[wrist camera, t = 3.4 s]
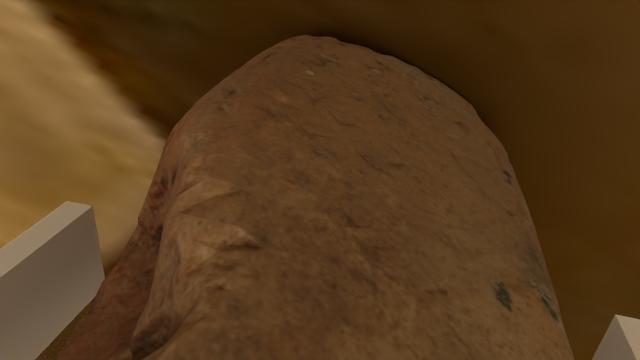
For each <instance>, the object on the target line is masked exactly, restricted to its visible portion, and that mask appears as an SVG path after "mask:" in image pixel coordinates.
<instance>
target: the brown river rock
mask: <svg viewBox="0 0 640 360" xmlns="http://www.w3.org/2000/svg"><path fill="white" fill-rule="evenodd" d="M138 224H139V225H138V226H137V228H136V230H135V232H134V233H133V235H132V237H131V239H130V240H129V242H128V244H127V246H126V248H125V250H124V252H123V254H122V256H121V258H120V260H119V261H118V263H117V264H116V266H115V267H114V268H113V269H112V270H111V272H110V273H109V274H108V275H107V277H106V278H105V279H104V280H103V282H102V283H101V286H100V288H99V290H98V292H97V294H96V296H95V299H94V301H93V303H92V306H91V308H90V311H89V313H88V314H87V315H86V316H84V317H83V318H81V319H79V320H78V322H77V324H76V325H75V327H74V329H73V331H72V332H71V334H70V336H69V337H68V339H67V341H66V343H65V344H64V346H63V348H62V350H61V352H60V353H59V355H58V356H57V358H56V360H574V357H573V353H572V349H571V346H570V343H569V341H568V338H567V335H566V332H565V330H564V326H563V322H562V318H561V314H560V310H559V306H558V302H557V298H556V294H555V291H554V288H553V285H552V282H551V280H550V277H549V274H548V271H547V268H546V264H545V260H544V257H543V253H542V250H541V247H540V244H539V240H538V237H537V234H536V230H535V227H534V224H533V221H532V218H531V215H530V213H529V210H528V207H527V204H526V201H525V199H524V196H523V194H522V192H521V189H520V186H519V183H518V181H517V178H516V176H515V173H514V170H513V167H512V165H511V163H510V162H509V160H508V155H507V153H506V151H505V149H504V147H503V145H502V144H501V142H500V141H499V140H498V139H497V137H496V136H495V135H494V134H493V133H492V132H491V131H490V129H489V128H488V127H487V126H486V125H485V124H484V123H483V122H482V121H481V119H480V118H479V116H478V115H477V112H476V111H475V109H474V107H473V106H472V105H471V104H470V103H469V102H467V101H466V100H465V99H463V98H462V97H461V96H460V95H458V94H457V93H456V92H454V91H453V90H451V89H450V88H449V87H447V86H446V85H444V84H443V83H441V82H440V81H438V80H437V79H435V78H433V77H431V76H429V75H427V74H425V73H424V72H422V71H421V70H420V69H418V68H417V67H415V66H412V65H409V64H406V63H404V62H403V61H401V60H399V59H397V58H395V57H393V56H390V55H382V54H379V53H377V52H375V51H373V50H371V49H369V48H366V47H363V46H359V45H355V44H350V43H345V42H341V41H339V40H337V39H336V38H333V37H313V36H310V35H302V36H297V37H292V38H290V39H287V40H284V41H282V42H279V43H278V44H276V45H275V46H273V47H270V48H268V49H266V50H265V51H263V52H261V53H260V54H258V55H257V56H255V57H254V58H252V59H251V60H249V61H248V62H247V63H246V64H244V65H243V66H242V67H241V68H239V69H237V70H236V71H234V72H233V73H232V74H230V75H229V76H227V77H226V78H225V79H223V80H222V81H221V82H220V83H218V84H217V85H216V86H215V87H213V88H212V89H211V90H210V91H209V92H207V93H206V94H205V95H204V96H203V97H202V98H200V99H199V100H198V101H197V102H196V103H195V104H194V105H193V106H192V107H191V109H190V110H189V111H188V112H187V113H186V114H185V115H184V116H183V117H182V119H181V120H180V121H179V122H178V123H177V124H176V125H175V126H174V127H173V129H172V132H171V134H170V136H169V138H168V140H167V142H166V144H165V146H164V149H163V152H162V155H161V158H160V161H159V164H158V167H157V170H156V173H155V175H154V178H153V181H152V183H151V186H150V189H149V191H148V194H147V196H146V199H145V202H144V204H143V207H142V209H141V212H140V214H139V217H138Z"/></svg>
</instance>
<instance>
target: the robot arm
mask: <svg viewBox="0 0 640 360" xmlns="http://www.w3.org/2000/svg"><path fill="white" fill-rule="evenodd" d="M104 279H105V276H104V270H103V264H102V258H101V253H100V247H99V241H98V235H97V229H96V223H95V218H94V212H93V206H90V205H85V204H81V203H76V202H71V201H66V202H65V203H63V204H62V205H60V206H59V207H58V208H56V209H55V210H53V211H52V212H50V213H49V214H48V215H46V216H45V217H43V218H42V219H41V220H39V221H38V222H36V223H35V224H34V225H32V226H31V227H29V228H28V229H27V230H25V231H24V232H22V233H21V234H20V235H18V236H17V237H15V238H14V239H12V240H11V241H10V242H8V243H7V244H5V245H4V246H3V247H1V248H0V360H35V359H36V358H37V357H38V356H39V355H40V354H41V353H42V352H43V351H44V349H45V348H46V347H47V346H48V345H49V344H50V343H51V342H52V341H53V340H54V339H55V338H56V337H57V336H58V335H59V334H60V333H61V332H62V331H63V330H64V329H65V327H66V326H67V325H68V324H69V323H70V322H71V321H72V320H73V319H74V318H75V317H76V316H77V315H78V314H79V313H80V312H81V311H82V310H83V309H84V308H85V307H86V305H87V304H88V303H89V302H90V301H91V300H92V299H93V298H94V297H95V296H96V294H97V292H98V290H99V288H100V286H101V283H102V282H103V280H104ZM592 360H640V320H639V319H634V318H629V317H625V316H620V315H615V316H614V318H613V320H612V322H611V324H610V326H609V328H608V330H607V332H606V334H605V336H604V337H603V339H602V341H601V343H600V345H599V347H598V349H597V351H596V353H595V355H594V357H593V359H592Z"/></svg>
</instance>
